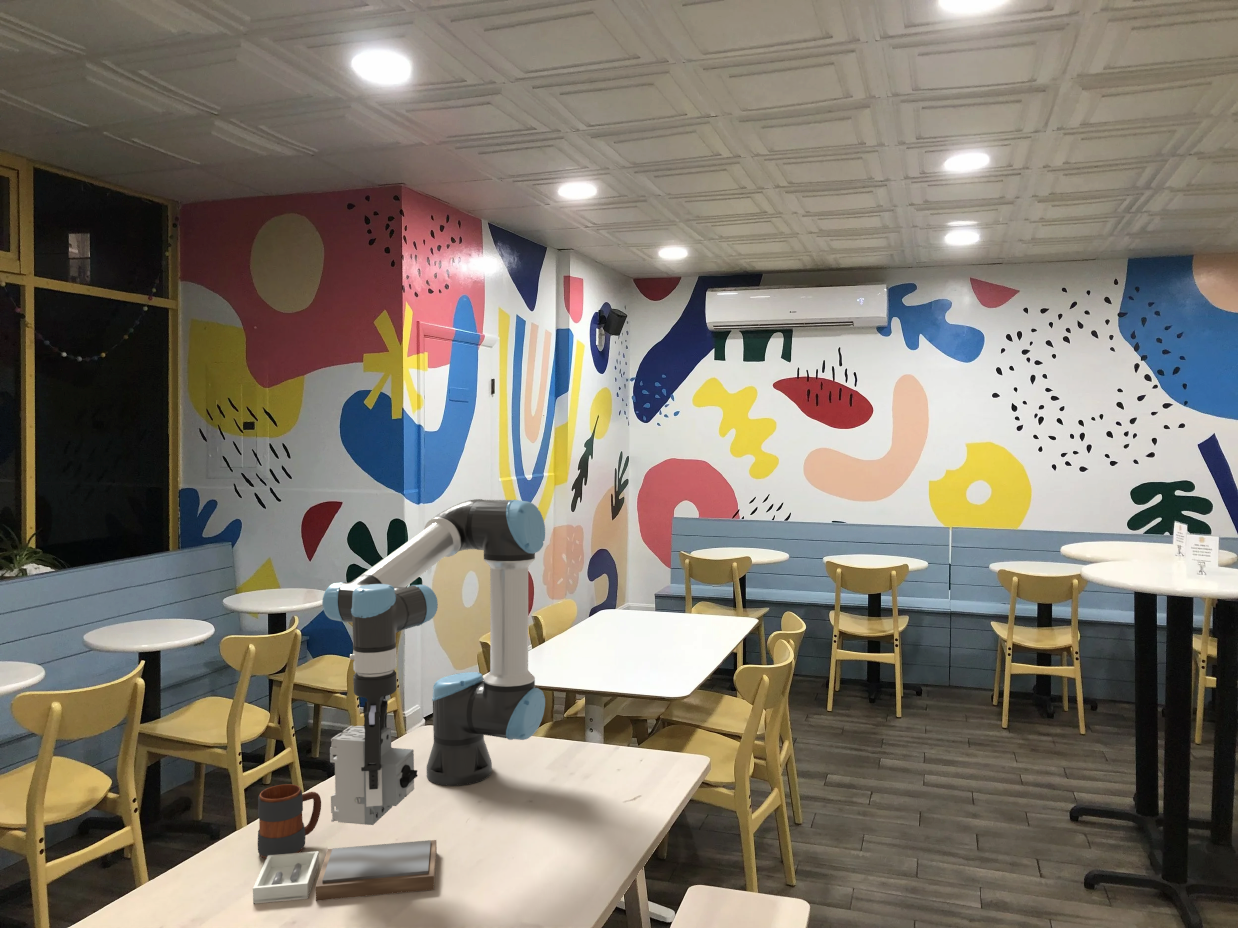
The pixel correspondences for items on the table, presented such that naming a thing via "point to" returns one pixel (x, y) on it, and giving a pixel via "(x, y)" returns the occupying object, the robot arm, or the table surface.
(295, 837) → the mug
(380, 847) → the framed panel
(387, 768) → the circuit breaker
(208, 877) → the table surface
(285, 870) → the tray
